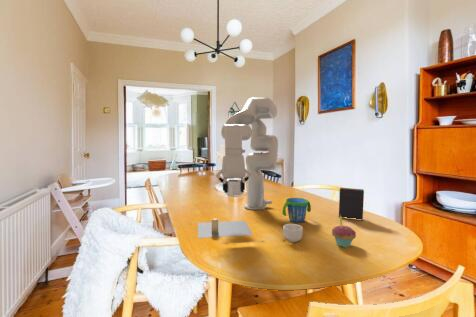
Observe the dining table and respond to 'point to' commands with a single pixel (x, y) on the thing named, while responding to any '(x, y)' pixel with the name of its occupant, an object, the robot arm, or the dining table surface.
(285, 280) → the dining table surface
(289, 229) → the teacup
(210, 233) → the stand
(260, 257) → the dining table surface
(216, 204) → the dining table surface
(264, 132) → the robot arm
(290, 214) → the snack cup
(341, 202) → the black upright rectangular panel
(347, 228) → the cupcake
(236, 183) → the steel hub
